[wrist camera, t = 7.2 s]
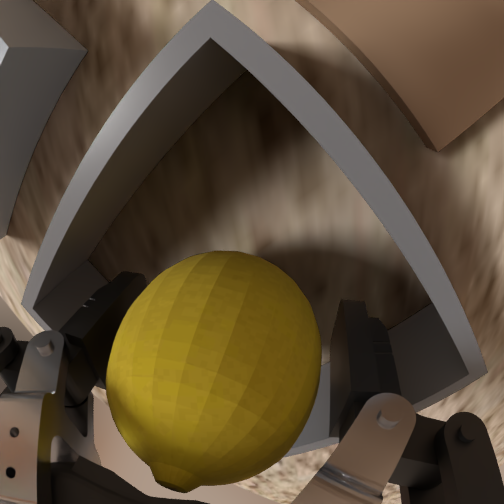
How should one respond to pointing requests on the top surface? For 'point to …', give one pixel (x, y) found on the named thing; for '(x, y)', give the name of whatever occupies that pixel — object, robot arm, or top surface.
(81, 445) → the robot arm
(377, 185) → the charcoal bin
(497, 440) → the top surface
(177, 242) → the top surface
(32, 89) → the slate-blue bin
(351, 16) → the walnut board
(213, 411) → the lemon
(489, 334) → the top surface
